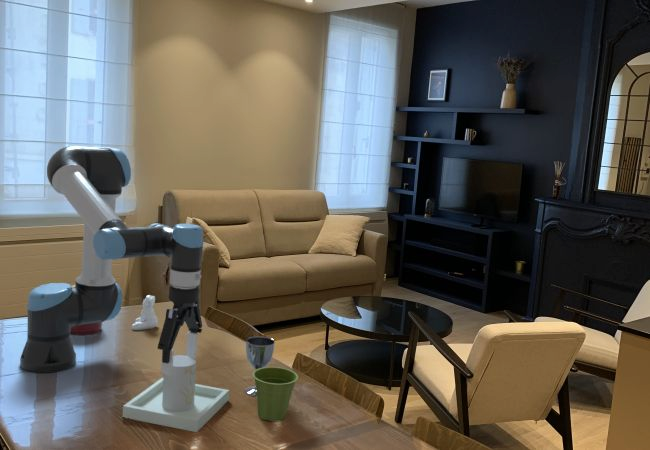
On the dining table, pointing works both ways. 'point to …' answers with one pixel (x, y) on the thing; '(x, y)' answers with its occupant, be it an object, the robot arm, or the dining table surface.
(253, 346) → the wine glass
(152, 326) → the sitting furry creature
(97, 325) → the canister
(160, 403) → the tray
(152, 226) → the robot arm
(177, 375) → the white round cylinder
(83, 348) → the dining table surface
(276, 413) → the plant pot
